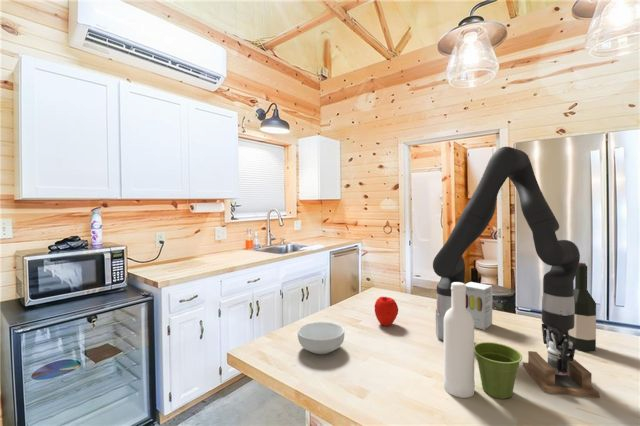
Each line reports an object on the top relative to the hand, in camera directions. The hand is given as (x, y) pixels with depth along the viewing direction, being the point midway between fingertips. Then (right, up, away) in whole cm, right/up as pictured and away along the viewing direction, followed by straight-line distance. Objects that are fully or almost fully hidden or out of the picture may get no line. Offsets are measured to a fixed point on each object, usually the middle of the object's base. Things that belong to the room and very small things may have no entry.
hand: (557, 366), depth 91 cm
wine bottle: (+24, -3, +20) cm, 32 cm away
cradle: (0, -4, 0) cm, 4 cm away
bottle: (-30, -5, -4) cm, 31 cm away
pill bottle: (0, -2, 0) cm, 2 cm away
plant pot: (-20, -5, -5) cm, 21 cm away
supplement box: (-2, -3, +42) cm, 43 cm away
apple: (-41, -4, +44) cm, 60 cm away
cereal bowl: (-69, -5, +22) cm, 72 cm away
